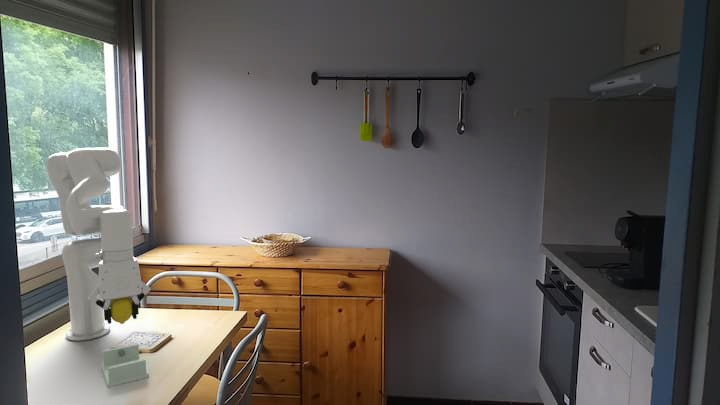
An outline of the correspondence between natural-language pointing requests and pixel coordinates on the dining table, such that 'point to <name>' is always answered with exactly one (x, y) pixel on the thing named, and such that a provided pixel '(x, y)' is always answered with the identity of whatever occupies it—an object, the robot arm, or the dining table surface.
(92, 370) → the dining table surface
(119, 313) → the lemon
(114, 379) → the holder
